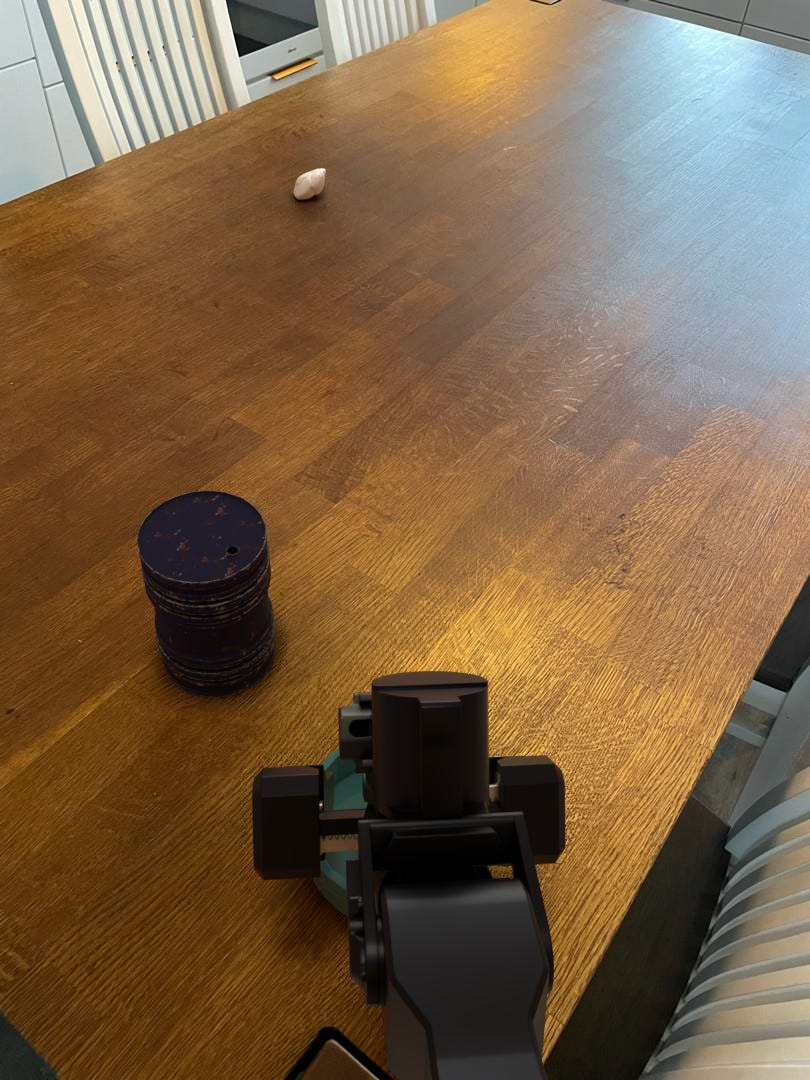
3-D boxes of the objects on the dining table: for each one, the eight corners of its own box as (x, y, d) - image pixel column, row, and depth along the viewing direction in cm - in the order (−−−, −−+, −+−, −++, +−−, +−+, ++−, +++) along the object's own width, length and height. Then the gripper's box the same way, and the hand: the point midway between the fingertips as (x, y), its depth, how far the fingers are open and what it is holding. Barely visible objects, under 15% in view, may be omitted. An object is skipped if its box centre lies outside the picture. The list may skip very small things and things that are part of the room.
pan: (484, 929, 63) (493, 904, 60) (298, 928, 62) (296, 903, 59) (471, 762, 72) (478, 733, 69) (308, 759, 72) (308, 729, 68)
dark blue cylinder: (137, 663, 77) (106, 546, 66) (211, 591, 83) (193, 472, 72) (229, 718, 74) (212, 605, 63) (298, 638, 80) (294, 522, 69)
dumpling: (324, 207, 136) (318, 184, 132) (292, 209, 137) (285, 186, 134) (333, 179, 139) (327, 156, 136) (302, 181, 141) (295, 158, 137)
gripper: (596, 703, 47) (525, 656, 63) (241, 717, 45) (259, 665, 61) (598, 909, 48) (527, 812, 63) (246, 932, 46) (262, 826, 61)
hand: (396, 775), depth 62 cm, fingers open, 9 cm apart
